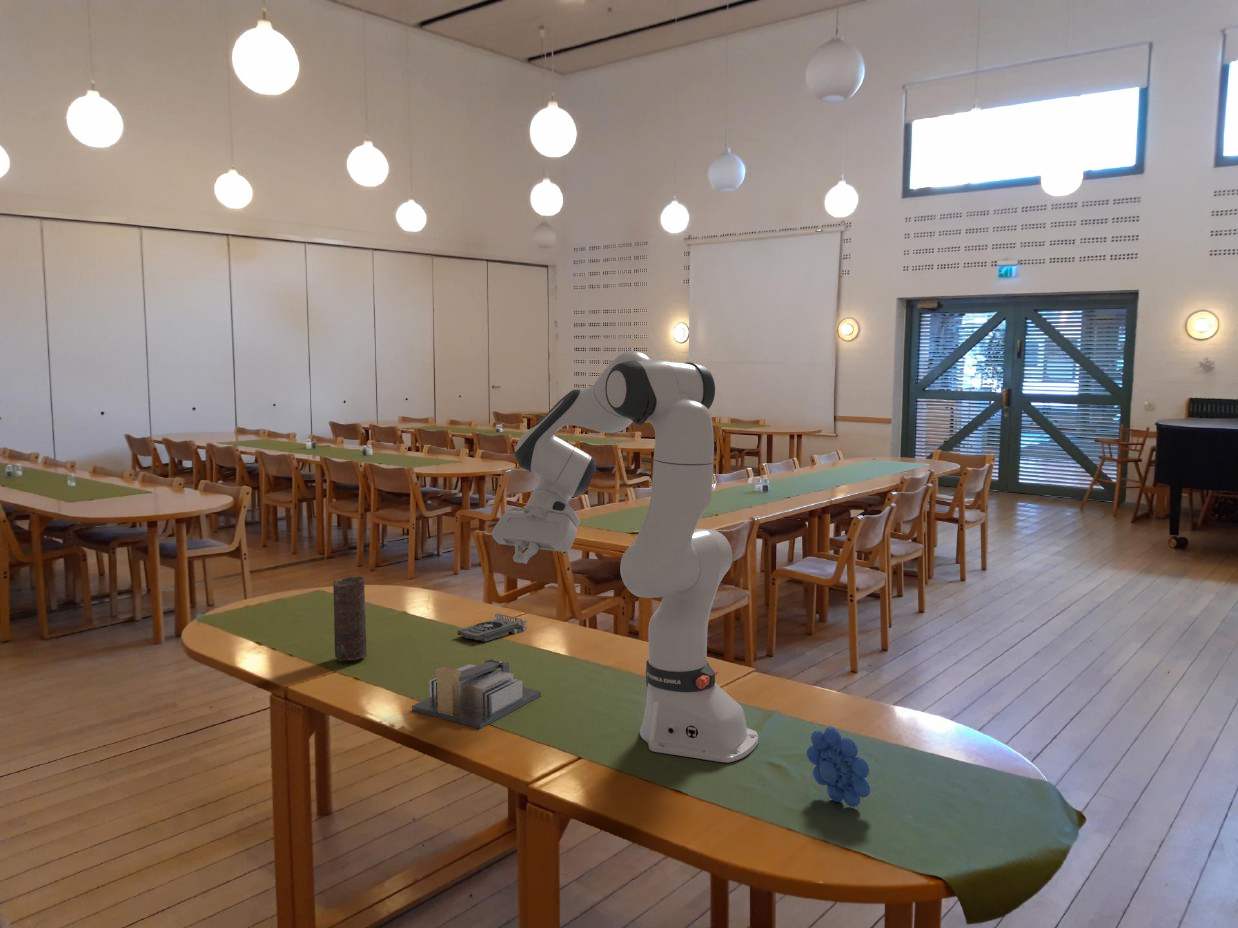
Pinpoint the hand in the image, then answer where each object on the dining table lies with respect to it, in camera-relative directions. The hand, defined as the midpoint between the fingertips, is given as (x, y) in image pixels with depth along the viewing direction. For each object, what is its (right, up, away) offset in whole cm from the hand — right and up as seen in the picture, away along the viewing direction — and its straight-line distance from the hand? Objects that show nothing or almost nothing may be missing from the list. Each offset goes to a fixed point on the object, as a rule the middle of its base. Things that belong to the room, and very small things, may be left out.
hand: (519, 561), depth 194 cm
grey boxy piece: (-7, -29, -9) cm, 31 cm away
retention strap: (-8, -22, -10) cm, 26 cm away
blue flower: (+57, -33, -52) cm, 84 cm away
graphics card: (-12, -24, +39) cm, 47 cm away
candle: (-42, -26, +18) cm, 53 cm away
